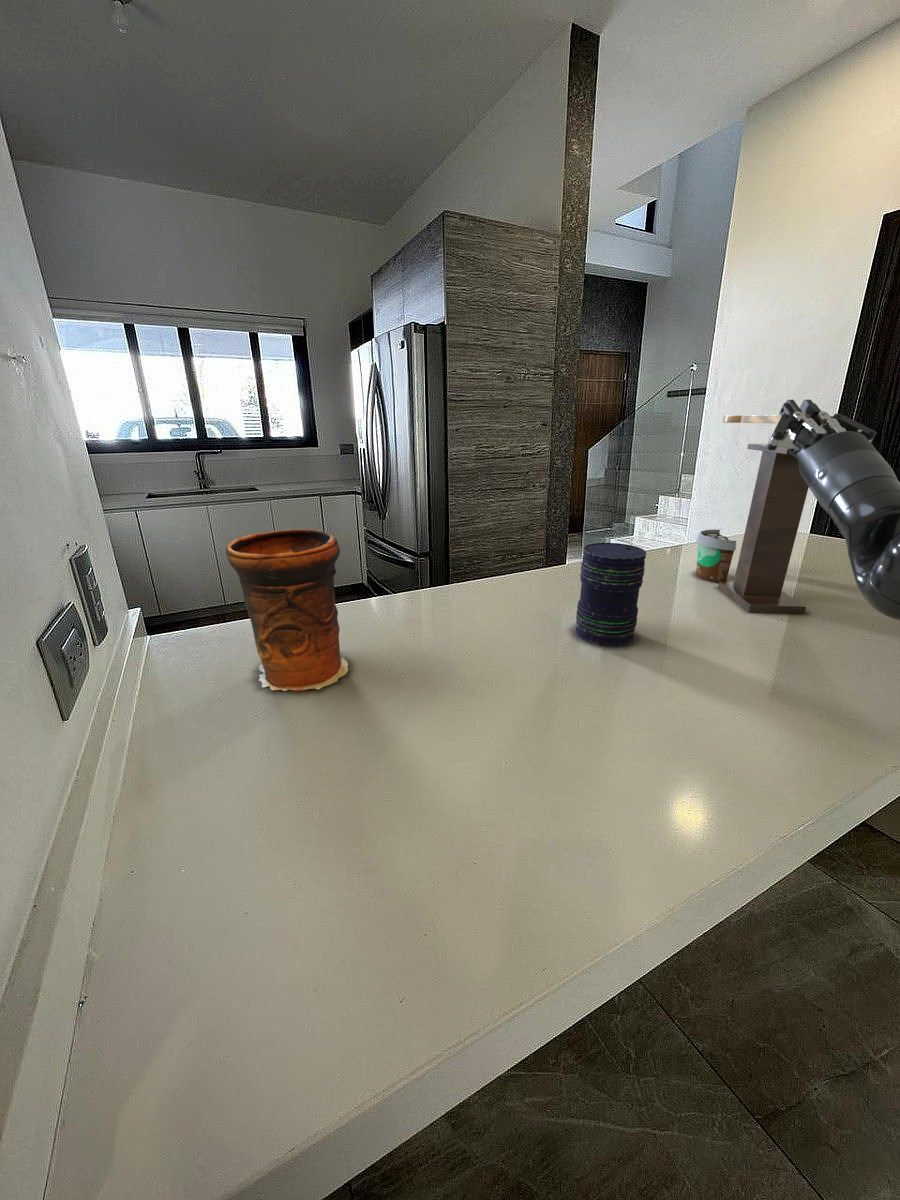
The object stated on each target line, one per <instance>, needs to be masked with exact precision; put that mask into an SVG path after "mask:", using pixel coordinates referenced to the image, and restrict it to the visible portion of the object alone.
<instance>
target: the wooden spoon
mask: <svg viewBox="0 0 900 1200" xmlns="http://www.w3.org/2000/svg"><path fill="white" fill-rule="evenodd" d="M805 416H806V417H807V418H810V415H805ZM780 418H781V416H780V414H759V415H758V414H757V415H755V414H753V415H751V414H750V415H749V414H748V415H747V414H746V415H723V419H722V423H724V424H728V423H729V424H776V425H777V424H778V422H779V420H780Z"/></svg>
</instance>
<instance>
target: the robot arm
mask: <svg viewBox="0 0 900 1200" xmlns="http://www.w3.org/2000/svg"><path fill="white" fill-rule="evenodd" d="M778 415H780V416H781V418H780V420H779V422H778V424H776V426H775V428H774V430H773V432H772V434H771V436H770V438H769V441H768V442H767V444H768V445H767V447H766V448H767V449H768V450H776V448H777V446H778V447H783V448H787V449H789V452H790V454H791V455H793V456H794V457H796V458H797V459H798V464H799V471H800V474H801V475H802V477H803V478H804V480H805V482H806V483H807V485H808V486H809V488H808V489H810V491H811V493H812V494H813V496H814V497H815V499H816V500H817V502H818V504H819V505H820V507H821V508H822V509H823V510H824V511H825V512H826V513H827V515H829V517H830V518H831V520H832V522H833V523H834V524H835V526H836V528H837V529H838V531H839V533H840V534H841V535H842V537H843V538H844V540H845V544H846V549H847V554H848V555H847V556H848V559H849V562H850V566H851V570H852V573H853V577H854V580H855V583H856V586H857V588H858V591H859V592H860V594H861V596H862V597H863V599H864V600H865V601H866V602H867V603H868V604H869V606H870V607H871V608H873V609H874V610H875V611H877V613H880V614H881V615H883V616H885V617H887V618H890V619H892V620H895V621H899V622H900V481H899V480H898V478H897V476H896V473H895V472H894V470H893V468H892V467H891V465H890V464H889V463H888V462H887V461H886V460H885V458H884V457H883V455H881V453H880V452H879V451H878V450H877V449H876V447H875V446H874V445H873V444H872V442H873V440H874V438H875V437H876V435H877V434H878V432H877V431H875V430H874V429H872V428H870V427H868V426H865V425H864V424H862V423H859V422H858V421H856V420H854V419H852V418H850V417H848V416H847V415H844V414H842V413H834V414H833V415H830V414H829V412H827V411H824V410H823V411H822V409H820V408H819V406H818V404H816V403H814V402H813V400H812V399H803V400H802V402H801V404H800V406H799V404H798V403H796V401H795V400H794V399H786V401H785V402H784V403H783V405H782V406H781V408H780V411H779V413H778ZM805 415H810V418H807V417H806V416H805ZM841 425H843V426H844V427H843V426H841Z"/></svg>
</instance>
